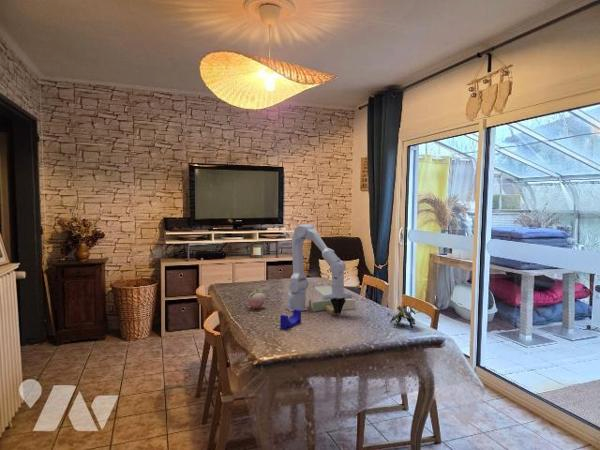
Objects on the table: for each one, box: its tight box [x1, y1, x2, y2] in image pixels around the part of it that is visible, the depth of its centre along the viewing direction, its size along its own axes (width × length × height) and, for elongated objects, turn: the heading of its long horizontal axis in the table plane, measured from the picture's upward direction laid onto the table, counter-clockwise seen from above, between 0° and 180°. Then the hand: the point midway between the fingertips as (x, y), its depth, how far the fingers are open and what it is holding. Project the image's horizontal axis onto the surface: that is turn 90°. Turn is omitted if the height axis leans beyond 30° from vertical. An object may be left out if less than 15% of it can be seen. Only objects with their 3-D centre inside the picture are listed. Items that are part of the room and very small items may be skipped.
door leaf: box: [311, 300, 332, 313], centre depth 197 cm, size 12×2×4 cm, turn 123°
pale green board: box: [308, 298, 356, 314], centre depth 196 cm, size 25×1×6 cm, turn 108°
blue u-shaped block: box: [279, 309, 302, 331], centre depth 172 cm, size 12×4×6 cm, turn 148°
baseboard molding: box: [312, 283, 347, 300], centre depth 235 cm, size 31×3×12 cm
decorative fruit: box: [247, 289, 267, 310], centre depth 198 cm, size 9×8×10 cm
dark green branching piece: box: [386, 305, 416, 328], centre depth 171 cm, size 11×11×12 cm
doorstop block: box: [324, 305, 341, 316], centre depth 193 cm, size 4×10×2 cm, turn 15°
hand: (337, 313), depth 187 cm, fingers closed, pressing on doorstop block
